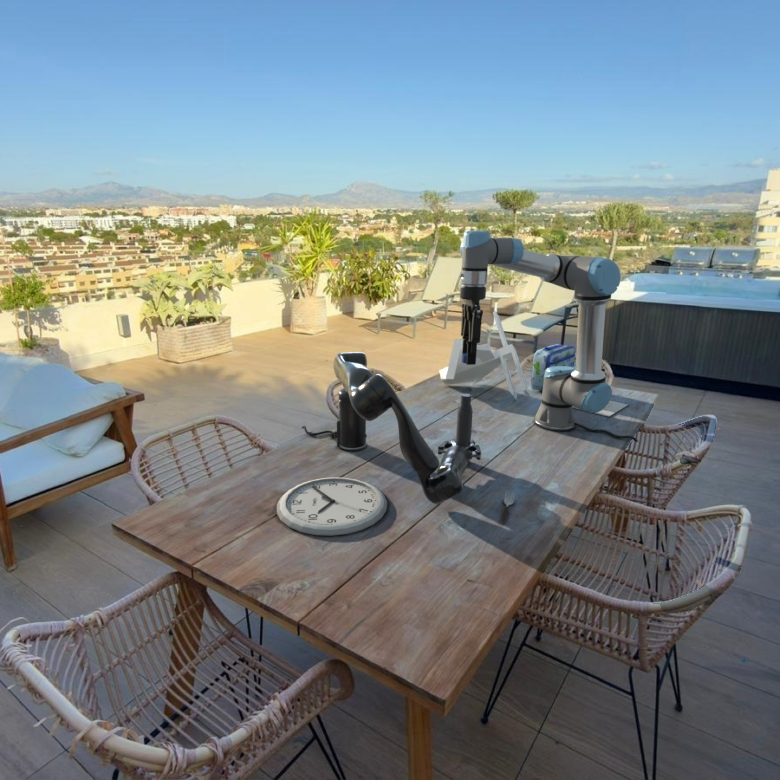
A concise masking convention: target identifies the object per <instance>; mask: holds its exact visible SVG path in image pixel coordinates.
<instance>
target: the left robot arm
mask: <svg viewBox="0 0 780 780" xmlns="http://www.w3.org/2000/svg"><path fill="white" fill-rule="evenodd" d="M333 371H334V375H335V378H336V379H337V380H338V381H339V382H341V384H342V386H343V388H341V389H340V390H339V391H338V420H336V430H334V431H333V430H323V431H318V432H314V433H313V432H309V431H308V429H307V427H306V425H302V427H301V429H303V430H304V432H305V433H306V434H307V435H308V436H319V435H324V434H330V437H331V439H336V447H337V448H340V449H342V450H343V451H349V452H355V451H356V452H357V451H362V450H363V449H366V447H367V438H368V437H367V436H368V435H367V422H371V421H375V420H376V419H378V418H379V417H380V416H382V415H383V414H385V413H386V412H387V411H388V410H389V409H391V410H392V411H393V412H394V415H395V417H396V421H397V427H398V442H399V449H400V452H401V454H402V456H403V458H404V460H405V461H406V462H407V463H408V465H409V466H410V467H411V468H412V470H413V472H415V474H416V476H417V478H418V480H419V483H420V485H421V488H422V491H423V493H424V496H425V498H426V499H427V500H428V502H429V503H432V504H435V505H437V504H441V503H444V502H445V501H448V500H450V499H453V498H455V497H457V496H459V495H460V494H461V493H462V492H463V490H464V484H463V480H462V477H463V476H464V473H465V471H466V470H467V468H468V465H469V464H468V462H469V463H470V460H472V459H473V458H474V459H476V460H477V461H480V460H481V459H482V458H481V457H482V451H481V446H480V445H479V444H476V441H475V440H474V439H471V442H470V444H469V445H468V444H467V445H466V446H464V447H462V446H458V445H456V436H455V438H452V440H451V441H449V440H444V441H443V442H442V443H440V444H439V445H438V446H437V454H438V455H443V456H442V458H441V460H439V458H438V456H437V455H436V454H435V453H434V451H433V449H431V447H430V445H428V443H427V442H426V440H425V439H424V437H423V435H422V434H421V433H420V431H419V429H418V427H417V426H416V424H415V422H414V420H413V419H412V416H411V415H410V413H409V412H408V410H407V408H406V407H405V405H404V403H403V402H402V400H401V398H400V396H399V395H398V394H397V392H396V390H395V389H394V387H393V386H392V384H391V383H390V382H389V381H388V379H387V378H385V377H384V376H383V375H382V374H379V373H376V374H374V373H373V372H372V371H371V369H370V368H369V367H368V359H367V355H366V353H364V352H363V351H347V352H339V353H337V354H336V355H335V356H334V359H333ZM435 472H436V475H435V476H432V475H433V474H434V473H435Z"/></svg>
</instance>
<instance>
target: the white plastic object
mask: <svg viewBox="0 0 780 780" xmlns="http://www.w3.org/2000/svg"><path fill="white" fill-rule="evenodd" d="M492 315H493V319H494V321H495V324H496V325H495V326H496V328H497V332H498V335H499V338H500V342H501V345H502V347H500V348H498V349H496V350H495V349H493V348H492V347H491V346H490V344H489V343H488V342H487V343H483V344H479V345H478V344H477V351H476V365H467V364H466V363H462V347H463V340H464V339H463V338H460V339H458V338H454V340H453V344H452V349H451V353H450V357H449V362H448V366H446V367H444V368H442V369H440V370H439V371H438V372H439V376H440V381H442V383H443V384H444V385H445V386H449V385H458V384H467V383H468V384H469V383H473V384H477V383H480V382H482V381H484V378H485V377H486V376H487V375H489V374H490V373H492V372H494V371H495V370H496V369H497V368H499V367H500V366H502V370H503V373H504V376H505V380H506V383H507V386H508V390H509V393H510V394H511V395H512V397H513V398H514V399H515V400H517V392H516V391H517V390H516V388H515V385H514V381H513V378H512V375H511V371H510V369H509V365H508V361H510V360H513V363H514V366H515V369H516V372H517V376H518V380H519V382H520V385H521V389H522V391H523V393H524V395H525V396H526V397H528V396H531V395H530V390H529V388H528V387H529V386H528V384H527V381H526V378H525V375H524V371H523V369H522V368H523V367H522V366H521V362H520V359H519V355H518V352H517V349H516V347H515V346H514V345H513V343H511V344H508V341H507V337H506V334H505V331H504V328H503V325H502V321H501V318H500V315H499V314H498V312H497V311H496V310H495V311H492Z"/></svg>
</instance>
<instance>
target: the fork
mask: <svg viewBox="0 0 780 780" xmlns="http://www.w3.org/2000/svg"><path fill="white" fill-rule="evenodd" d="M515 492H516V491H511V493H510V490H509V491H508V490H506V491H505V495H504V499H503V503H504V504H505V505H506V506H505V508H504V509H503V510H502V517H501V524H503V523H504V521H505V519H506V517H507V515H508V509H509V506H511V505H513V504H514V501H515V500H514V499H515ZM507 494H508V495H507Z"/></svg>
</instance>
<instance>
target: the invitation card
mask: <svg viewBox="0 0 780 780" xmlns="http://www.w3.org/2000/svg"><path fill="white" fill-rule="evenodd" d="M628 406H629V404H627V403H623V402H618V401H614V400H610V401H609V403H608V404H607V405H606V407H605V408H604V409H603V410H601V411H599V412H597V413H595V414H596V415H600V416H604V417H608V418H609V417H611V416H613V415H614V414H616V413H617V412H619V411H621V410H623V409H624V408H626V407H628ZM573 409H575V410H581V409H579V408H576V407H574V406H573ZM581 411H582V410H581Z"/></svg>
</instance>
